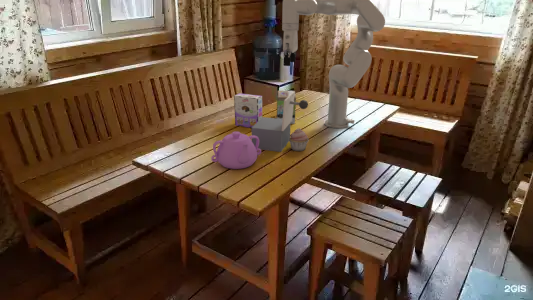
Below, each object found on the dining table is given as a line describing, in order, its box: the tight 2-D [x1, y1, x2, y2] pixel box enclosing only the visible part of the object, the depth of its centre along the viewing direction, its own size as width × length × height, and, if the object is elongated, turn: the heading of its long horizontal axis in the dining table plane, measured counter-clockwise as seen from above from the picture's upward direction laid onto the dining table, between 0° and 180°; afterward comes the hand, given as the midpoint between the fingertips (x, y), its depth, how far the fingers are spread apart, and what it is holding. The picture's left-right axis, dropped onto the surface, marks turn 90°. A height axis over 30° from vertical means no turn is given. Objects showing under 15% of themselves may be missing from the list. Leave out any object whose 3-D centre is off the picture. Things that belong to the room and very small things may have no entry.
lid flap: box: [282, 91, 309, 131], centre depth 186 cm, size 14×16×9 cm
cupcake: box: [288, 127, 310, 152], centre depth 188 cm, size 9×9×10 cm
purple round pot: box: [210, 130, 262, 170], centre depth 171 cm, size 22×22×14 cm
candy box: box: [233, 92, 263, 129], centre depth 217 cm, size 14×6×16 cm, turn 65°
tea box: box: [276, 90, 297, 125], centre depth 226 cm, size 15×10×15 cm
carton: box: [251, 116, 291, 153], centre depth 194 cm, size 14×16×10 cm
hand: (289, 63), depth 199 cm, fingers open, 9 cm apart
